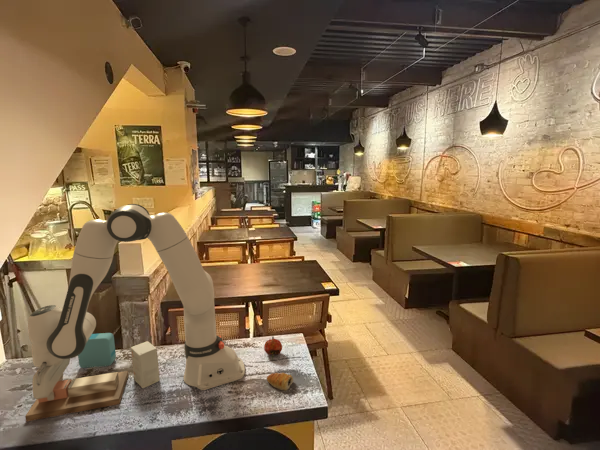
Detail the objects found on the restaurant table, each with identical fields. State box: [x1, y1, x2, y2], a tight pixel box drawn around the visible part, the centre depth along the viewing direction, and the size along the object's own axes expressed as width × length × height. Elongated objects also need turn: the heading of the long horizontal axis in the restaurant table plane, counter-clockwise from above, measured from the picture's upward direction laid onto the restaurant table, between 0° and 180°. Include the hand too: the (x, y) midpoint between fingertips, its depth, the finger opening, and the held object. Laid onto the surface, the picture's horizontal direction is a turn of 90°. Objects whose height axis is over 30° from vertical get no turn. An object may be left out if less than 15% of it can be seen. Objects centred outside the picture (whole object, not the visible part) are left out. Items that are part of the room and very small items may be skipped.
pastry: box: [266, 372, 294, 392], centre depth 121 cm, size 9×7×4 cm
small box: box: [130, 340, 161, 389], centre depth 123 cm, size 8×6×13 cm
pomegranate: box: [263, 335, 283, 361], centre depth 139 cm, size 7×7×10 cm
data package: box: [77, 332, 117, 369], centre depth 133 cm, size 12×4×12 cm, turn 97°
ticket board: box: [24, 370, 129, 422], centre depth 115 cm, size 26×16×6 cm, turn 107°
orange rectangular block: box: [38, 378, 72, 403], centre depth 112 cm, size 8×5×4 cm, turn 107°
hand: (55, 392), depth 113 cm, fingers closed on orange rectangular block, 5 cm apart
